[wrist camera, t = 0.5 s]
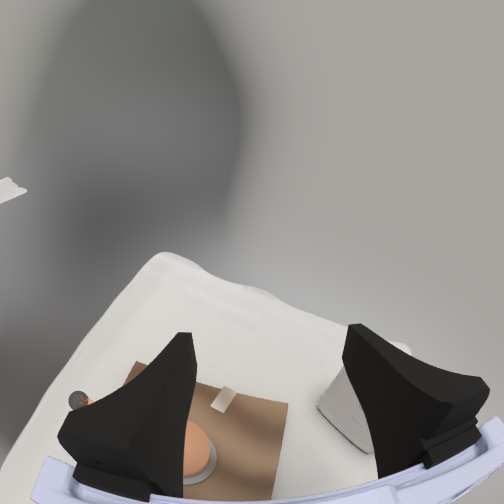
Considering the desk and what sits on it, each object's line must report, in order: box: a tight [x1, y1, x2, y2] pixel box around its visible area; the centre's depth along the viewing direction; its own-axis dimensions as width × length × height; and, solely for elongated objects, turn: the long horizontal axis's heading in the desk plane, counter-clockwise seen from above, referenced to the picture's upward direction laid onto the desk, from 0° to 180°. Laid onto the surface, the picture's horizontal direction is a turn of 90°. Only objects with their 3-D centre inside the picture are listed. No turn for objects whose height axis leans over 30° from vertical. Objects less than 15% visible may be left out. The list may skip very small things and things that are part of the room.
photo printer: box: [317, 366, 374, 454], centre depth 22 cm, size 10×4×12 cm, turn 37°
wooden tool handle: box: [69, 391, 210, 478], centre depth 18 cm, size 14×5×4 cm, turn 79°
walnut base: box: [123, 361, 288, 502], centre depth 20 cm, size 18×18×2 cm
